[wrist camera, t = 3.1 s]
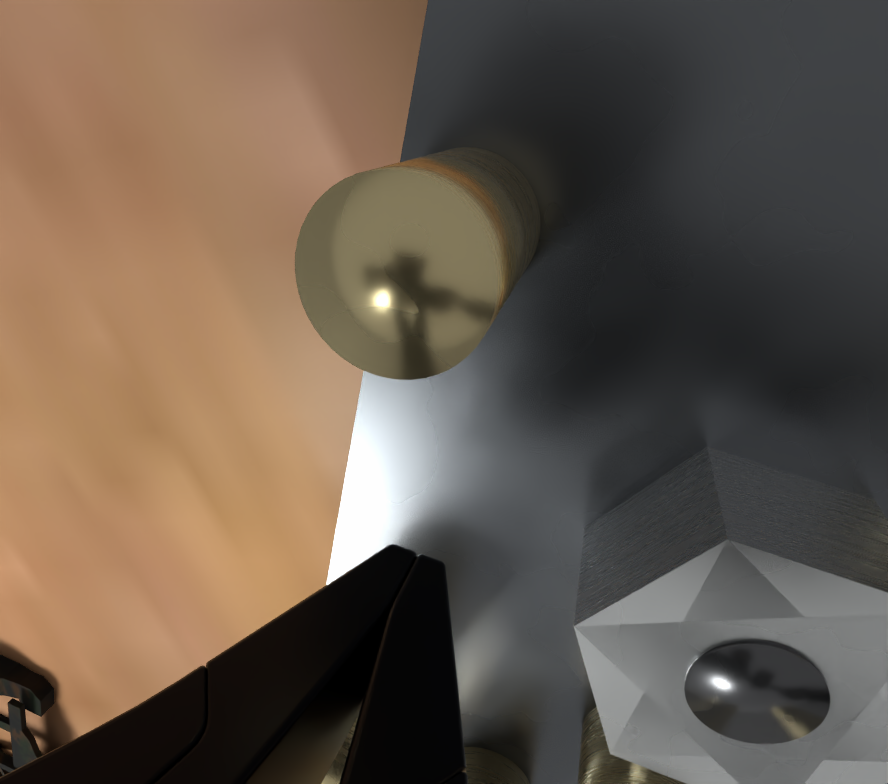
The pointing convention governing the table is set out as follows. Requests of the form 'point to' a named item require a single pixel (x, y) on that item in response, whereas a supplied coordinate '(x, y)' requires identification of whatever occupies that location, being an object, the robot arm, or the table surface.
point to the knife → (21, 711)
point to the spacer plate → (600, 309)
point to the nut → (739, 627)
